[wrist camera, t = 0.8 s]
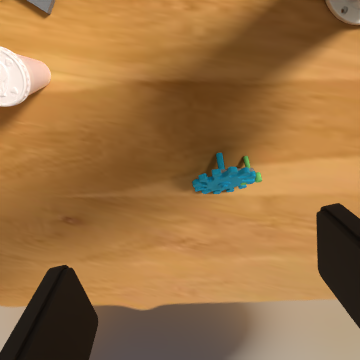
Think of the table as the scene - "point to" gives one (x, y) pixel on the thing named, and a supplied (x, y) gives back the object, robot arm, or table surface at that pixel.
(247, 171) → the gear
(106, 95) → the table surface
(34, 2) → the bottle socket
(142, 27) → the table surface
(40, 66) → the smoothie
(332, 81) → the table surface
